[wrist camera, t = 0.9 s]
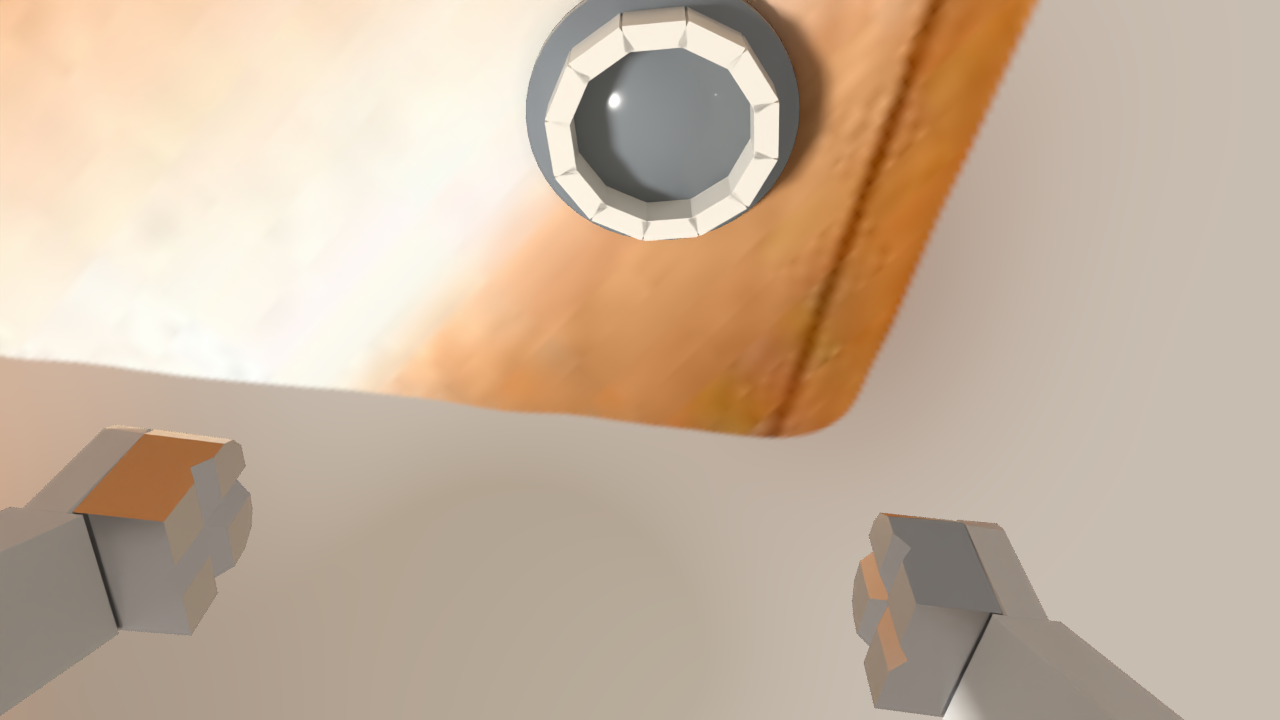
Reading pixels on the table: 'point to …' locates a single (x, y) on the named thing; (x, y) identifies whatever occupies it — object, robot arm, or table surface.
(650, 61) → the ring dish
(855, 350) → the table surface
